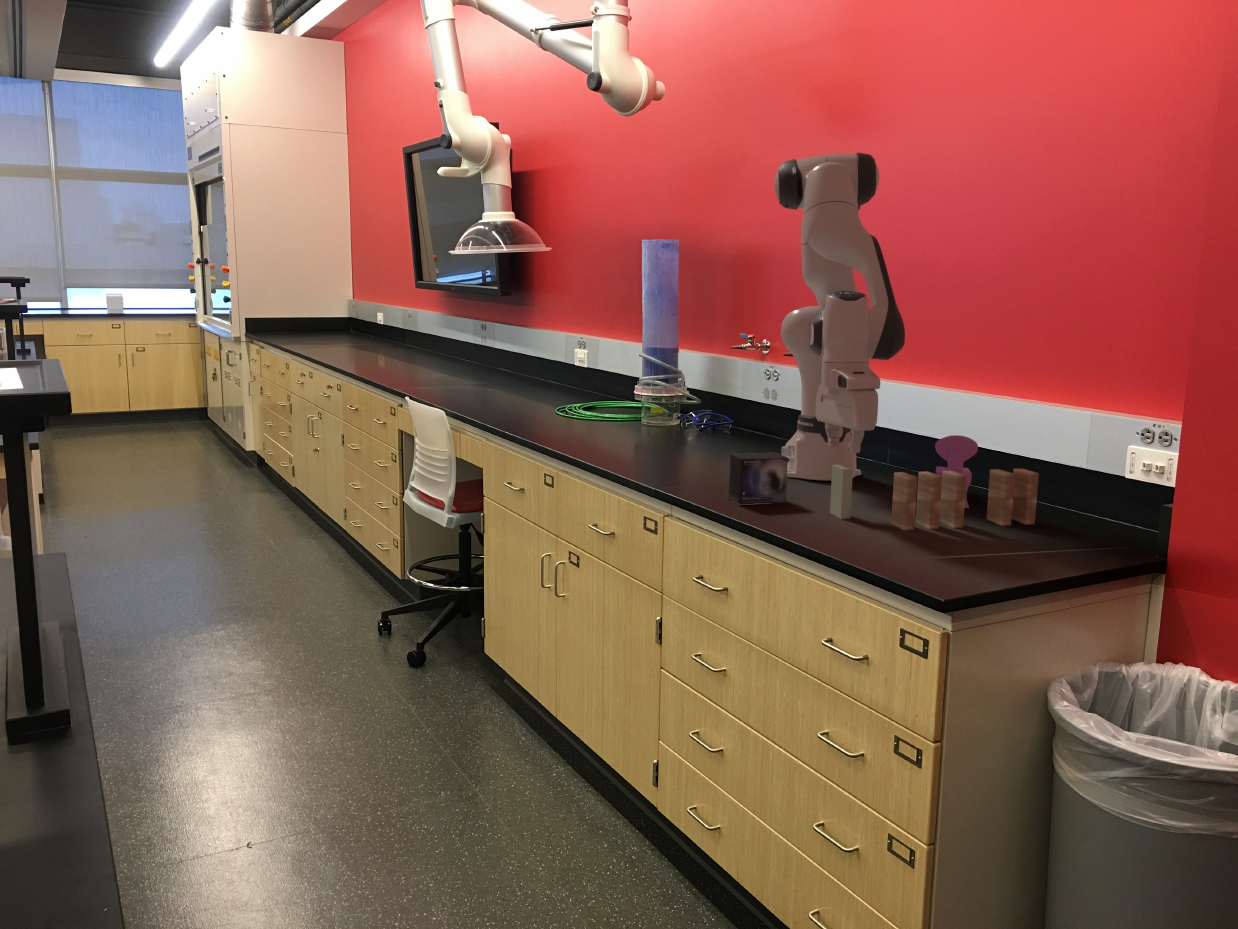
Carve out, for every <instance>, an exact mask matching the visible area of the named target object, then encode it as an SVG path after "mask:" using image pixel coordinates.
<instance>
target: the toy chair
mask: <svg viewBox="0 0 1238 929" xmlns="http://www.w3.org/2000/svg"><path fill="white" fill-rule="evenodd" d="M934 448H935V451H936V453H937V455H939V456H940V458H942V459H943V460H944V461H946V462H947V467H945V466H936V467H935V474H937V475H940V476H942V475H943V471H954V472H957V473H961V474H964V475H967V479H966V493H965V508H964V509H970V506H969V502H968V500H967V493H968V489H969V486H970V485H971V483H972V475H973V473H972V472H971V470H970V469H969V468H968V467H964V462H966V461H968V460H969V459H971V458H972V457H973V456H975V455H976V454H977V452H978V449H979V445H978V442H976V441H975V440H974V439H972V438H971V437H968V436H965V435H948V436H945V437H941V438H940V439H938V440H937V441H935V444H934ZM941 490H942V487H941ZM940 506H941V502H940Z"/></svg>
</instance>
